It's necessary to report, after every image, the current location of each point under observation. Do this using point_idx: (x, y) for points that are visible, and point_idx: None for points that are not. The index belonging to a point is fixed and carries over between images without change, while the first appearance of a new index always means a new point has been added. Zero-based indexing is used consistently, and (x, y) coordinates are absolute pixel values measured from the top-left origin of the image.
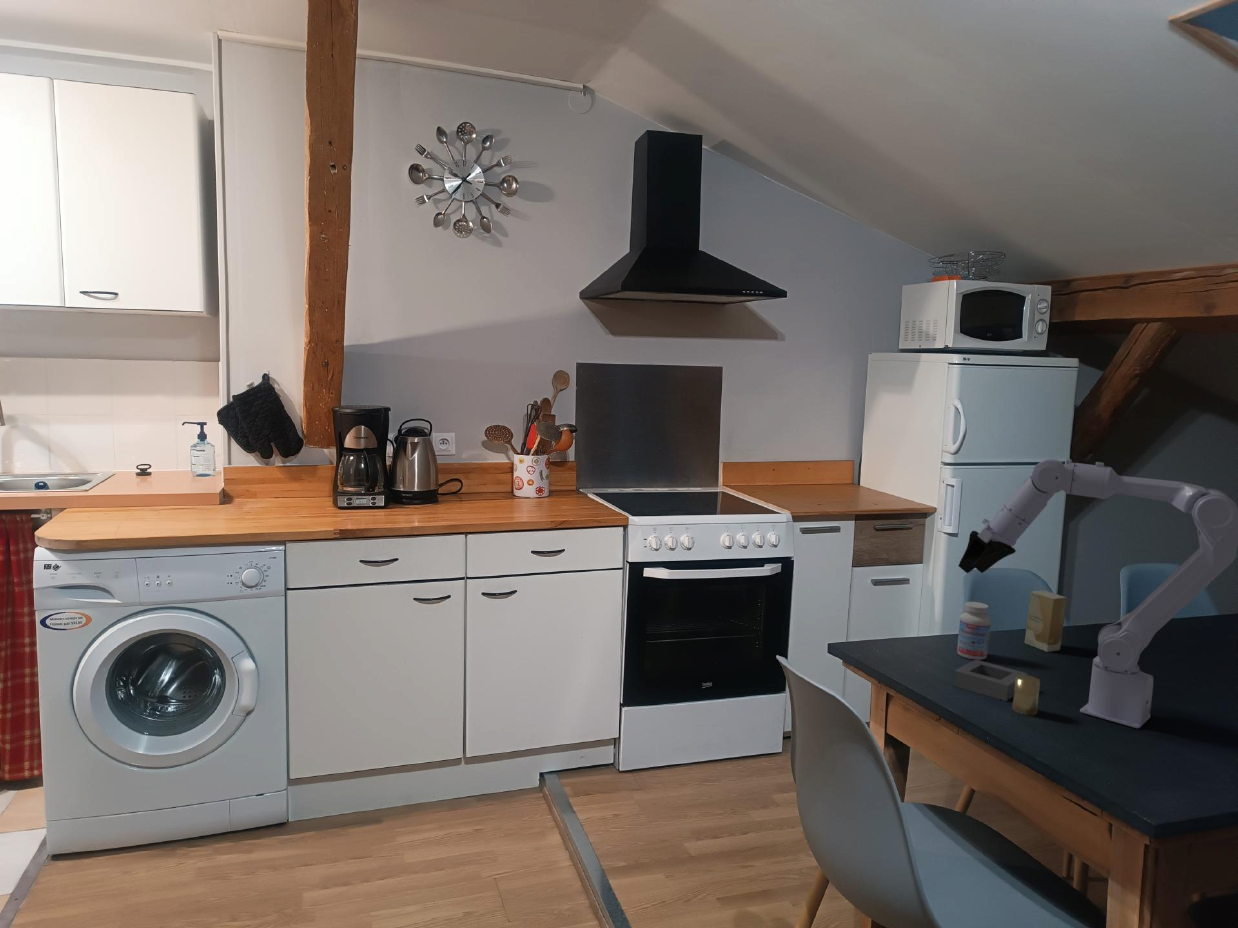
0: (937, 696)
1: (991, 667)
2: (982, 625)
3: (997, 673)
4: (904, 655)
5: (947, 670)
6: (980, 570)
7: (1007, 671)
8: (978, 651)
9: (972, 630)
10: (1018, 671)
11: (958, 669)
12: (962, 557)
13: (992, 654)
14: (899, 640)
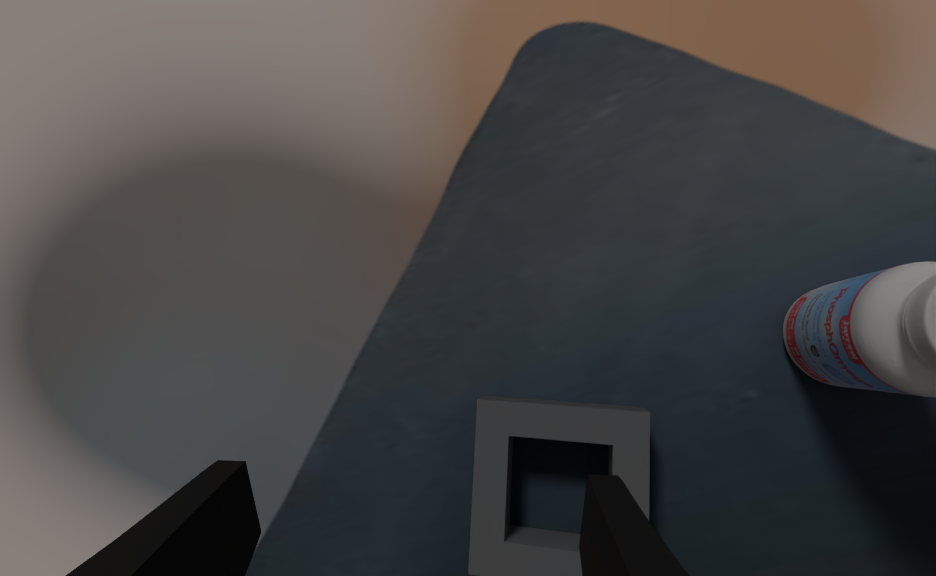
0: (374, 394)
1: None
2: (879, 378)
3: None
4: (633, 184)
5: (604, 334)
6: (583, 542)
7: None
8: (812, 369)
9: (838, 342)
10: None
11: (498, 404)
12: (144, 518)
13: None
14: (776, 100)
